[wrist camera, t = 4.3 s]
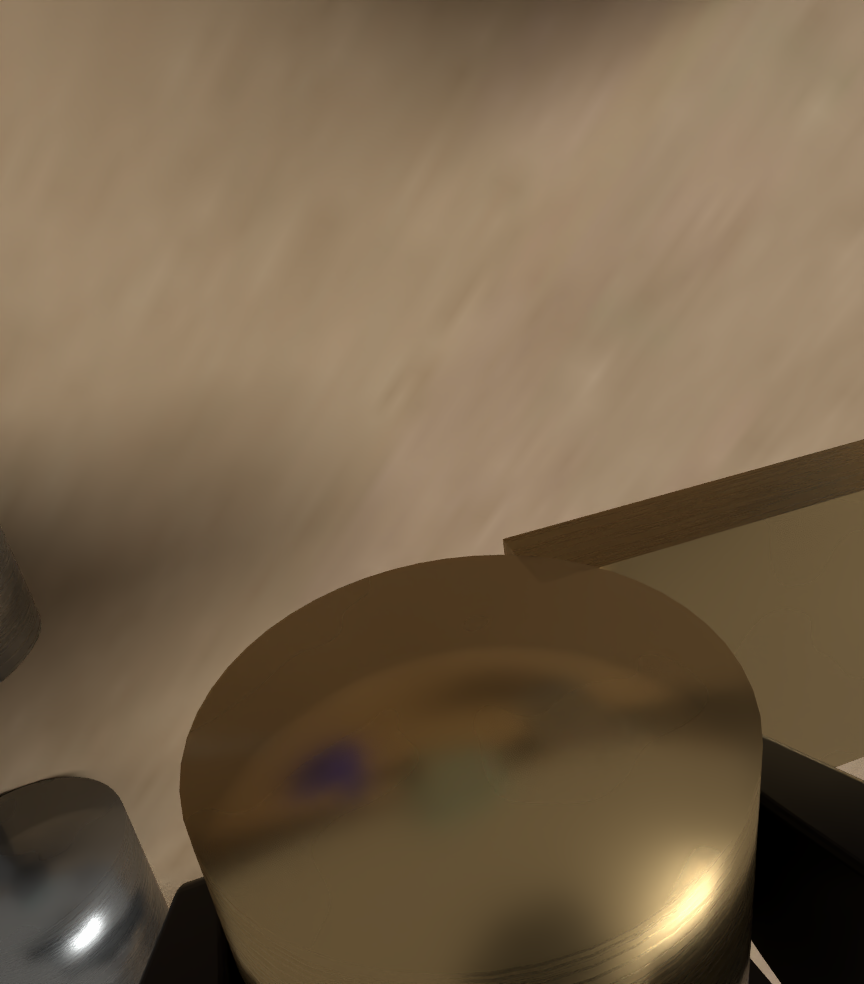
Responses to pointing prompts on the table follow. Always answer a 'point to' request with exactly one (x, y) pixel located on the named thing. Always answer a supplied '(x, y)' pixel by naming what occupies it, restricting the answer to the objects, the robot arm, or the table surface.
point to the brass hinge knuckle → (536, 744)
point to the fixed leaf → (67, 856)
